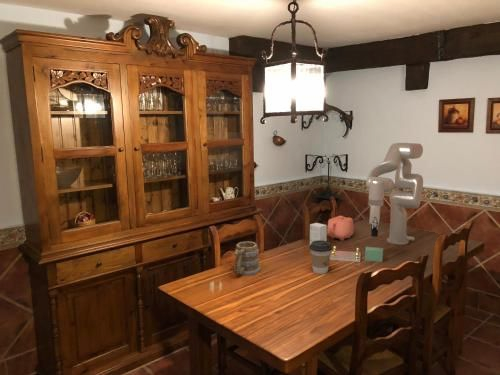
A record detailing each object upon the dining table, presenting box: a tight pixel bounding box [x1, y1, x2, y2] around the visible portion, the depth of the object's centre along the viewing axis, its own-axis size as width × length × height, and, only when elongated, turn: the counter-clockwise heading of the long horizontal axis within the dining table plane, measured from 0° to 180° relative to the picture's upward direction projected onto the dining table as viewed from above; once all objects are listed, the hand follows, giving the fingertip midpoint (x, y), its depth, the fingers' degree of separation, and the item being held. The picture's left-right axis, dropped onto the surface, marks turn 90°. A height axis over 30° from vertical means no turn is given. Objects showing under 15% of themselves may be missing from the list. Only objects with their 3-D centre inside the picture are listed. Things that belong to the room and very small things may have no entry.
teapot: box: [327, 215, 355, 242], centre depth 265 cm, size 22×13×14 cm, turn 135°
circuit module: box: [364, 246, 384, 263], centre depth 228 cm, size 9×5×6 cm, turn 72°
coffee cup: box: [308, 240, 333, 275], centre depth 211 cm, size 11×11×15 cm
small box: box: [309, 222, 328, 246], centre depth 251 cm, size 8×6×13 cm
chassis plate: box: [329, 245, 362, 263], centre depth 232 cm, size 16×12×4 cm
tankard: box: [233, 240, 261, 276], centre depth 211 cm, size 20×13×15 cm, turn 154°
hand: (374, 233), depth 225 cm, fingers open, 9 cm apart
